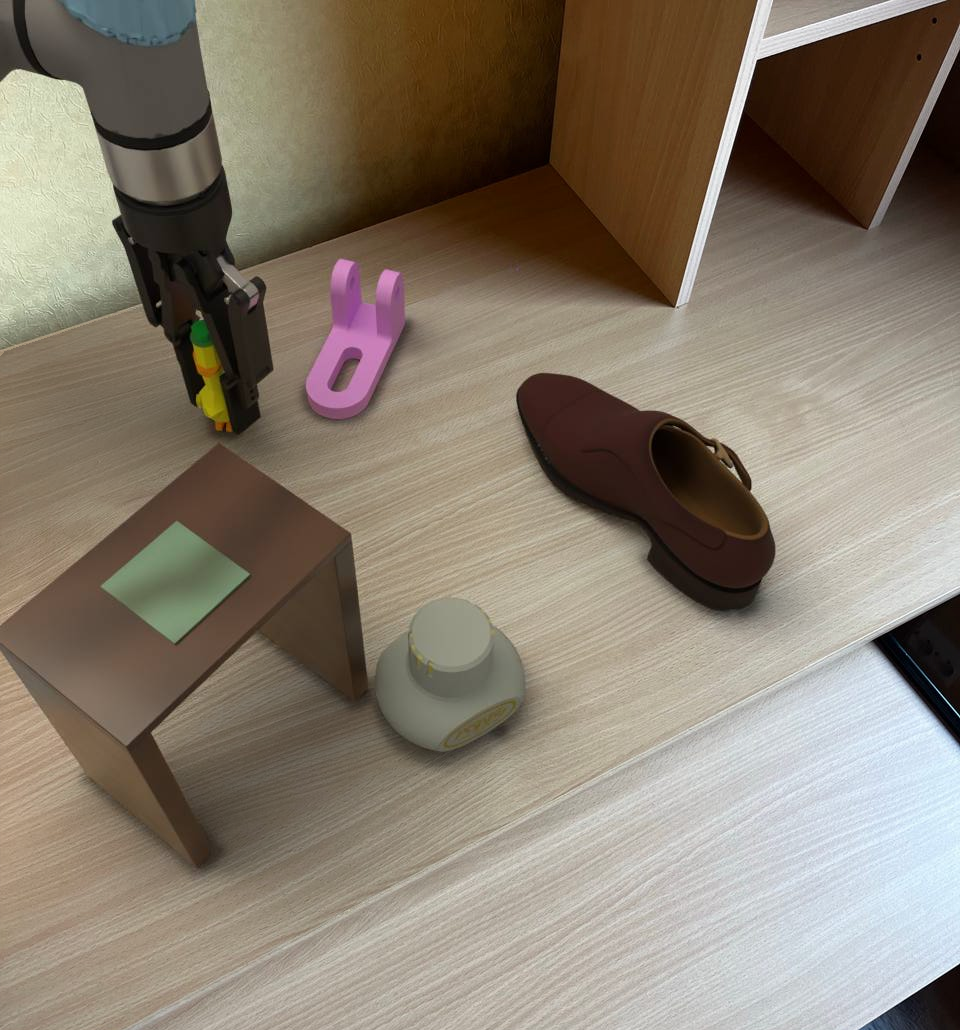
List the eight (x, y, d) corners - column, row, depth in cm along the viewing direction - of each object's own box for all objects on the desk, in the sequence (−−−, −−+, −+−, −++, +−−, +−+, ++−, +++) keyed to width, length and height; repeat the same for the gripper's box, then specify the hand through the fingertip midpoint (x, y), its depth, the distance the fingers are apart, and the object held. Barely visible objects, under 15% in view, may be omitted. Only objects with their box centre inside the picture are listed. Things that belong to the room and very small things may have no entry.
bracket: (348, 310, 102) (343, 249, 96) (405, 323, 102) (403, 263, 96) (298, 410, 96) (289, 352, 90) (358, 425, 95) (353, 368, 89)
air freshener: (481, 626, 86) (486, 554, 77) (540, 707, 82) (552, 640, 74) (358, 691, 82) (350, 623, 74) (415, 778, 79) (413, 717, 70)
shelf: (87, 775, 78) (-13, 632, 61) (262, 609, 86) (218, 439, 68) (196, 868, 75) (125, 746, 58) (369, 688, 83) (351, 531, 65)
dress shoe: (565, 376, 99) (580, 275, 89) (788, 583, 89) (833, 495, 79) (485, 422, 96) (491, 322, 86) (707, 642, 86) (743, 559, 76)
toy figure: (214, 389, 97) (190, 285, 86) (254, 393, 97) (235, 289, 86) (198, 449, 94) (171, 348, 83) (240, 453, 94) (218, 352, 83)
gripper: (301, 199, 73) (330, 433, 93) (120, 94, 78) (185, 338, 98) (220, 259, 69) (269, 488, 90) (37, 145, 74) (122, 386, 95)
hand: (225, 409), depth 94 cm, fingers closed on toy figure, 4 cm apart
